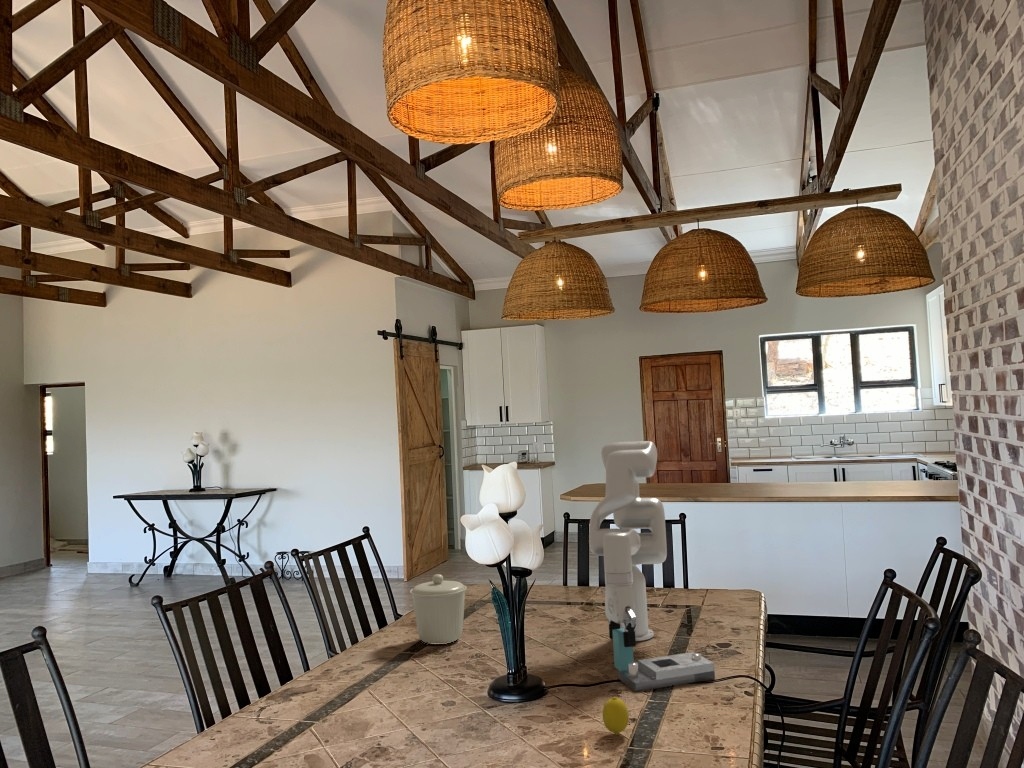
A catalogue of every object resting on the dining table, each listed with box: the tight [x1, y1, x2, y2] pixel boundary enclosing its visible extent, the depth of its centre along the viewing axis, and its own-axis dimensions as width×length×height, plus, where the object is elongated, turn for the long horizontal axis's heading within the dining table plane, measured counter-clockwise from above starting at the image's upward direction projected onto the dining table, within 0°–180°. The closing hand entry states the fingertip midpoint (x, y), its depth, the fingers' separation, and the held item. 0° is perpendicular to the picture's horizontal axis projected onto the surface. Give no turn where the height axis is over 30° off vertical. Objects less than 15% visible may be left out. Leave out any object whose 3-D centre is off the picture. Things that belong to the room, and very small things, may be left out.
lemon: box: [602, 696, 630, 736], centre depth 171 cm, size 6×6×8 cm
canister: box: [409, 573, 468, 643], centre depth 253 cm, size 18×18×21 cm
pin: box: [612, 628, 635, 671], centre depth 216 cm, size 4×4×10 cm
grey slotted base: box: [617, 651, 716, 692], centre depth 205 cm, size 11×22×5 cm, turn 106°
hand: (622, 642), depth 215 cm, fingers open, 9 cm apart
